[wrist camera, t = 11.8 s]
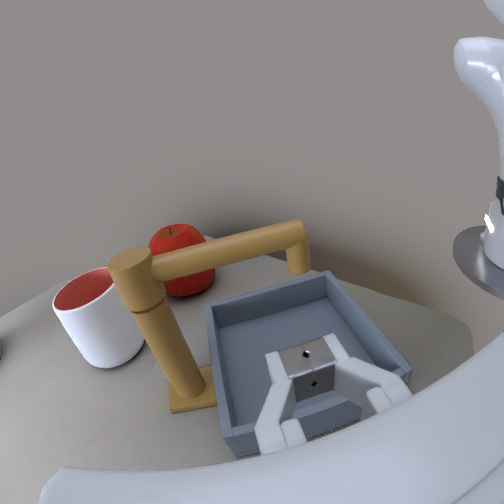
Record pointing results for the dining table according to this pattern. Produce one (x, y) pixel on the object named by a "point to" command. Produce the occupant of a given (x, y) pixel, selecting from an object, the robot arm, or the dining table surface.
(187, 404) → the faucet base
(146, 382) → the dining table surface
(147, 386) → the dining table surface
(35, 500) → the dining table surface
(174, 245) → the apple
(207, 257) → the spout
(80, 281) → the cup
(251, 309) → the sink
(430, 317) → the dining table surface
